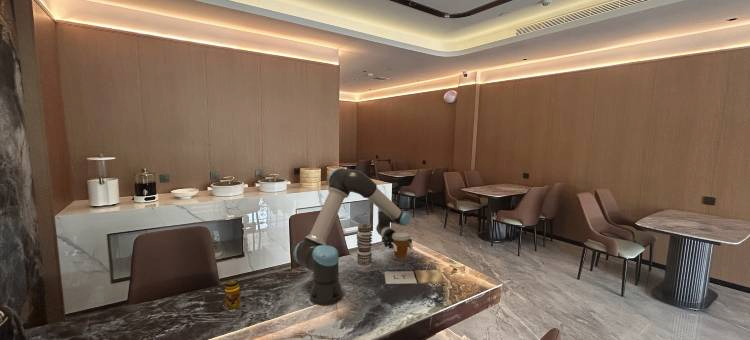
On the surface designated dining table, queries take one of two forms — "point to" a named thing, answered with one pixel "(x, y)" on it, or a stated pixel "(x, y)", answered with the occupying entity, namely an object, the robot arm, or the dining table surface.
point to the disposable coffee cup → (401, 243)
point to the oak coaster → (429, 276)
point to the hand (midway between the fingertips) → (404, 248)
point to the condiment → (232, 294)
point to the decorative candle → (364, 245)
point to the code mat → (400, 277)
